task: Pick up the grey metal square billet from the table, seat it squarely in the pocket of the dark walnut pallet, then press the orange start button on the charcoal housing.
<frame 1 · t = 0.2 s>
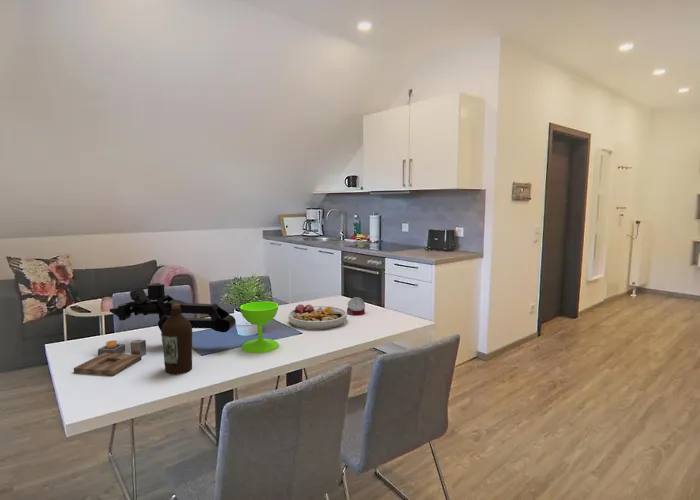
hand: (117, 307, 187), 16 cm above the table, tool horizontal, fingers open, 9 cm apart
start button: (111, 345, 176), point 4 cm above the table, slide at 0.0 cm
bowl: (317, 323, 222), on the table
wineglass: (260, 347, 186), on the table
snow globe: (355, 313, 239), on the table
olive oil: (178, 370, 160), on the table
metal billet: (138, 355, 175), on the table
button housing: (112, 353, 177), on the table
walnut pallet: (109, 366, 164), on the table
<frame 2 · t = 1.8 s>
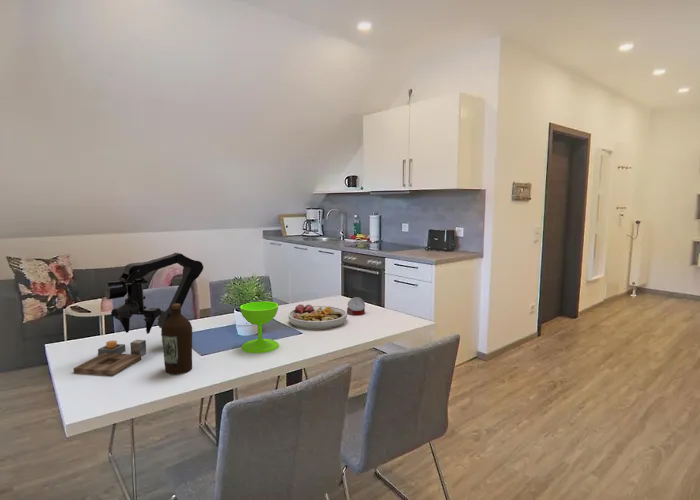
hand: (137, 333, 174), 9 cm above the table, tool pointing down, fingers open, 9 cm apart
nothing on the table moved.
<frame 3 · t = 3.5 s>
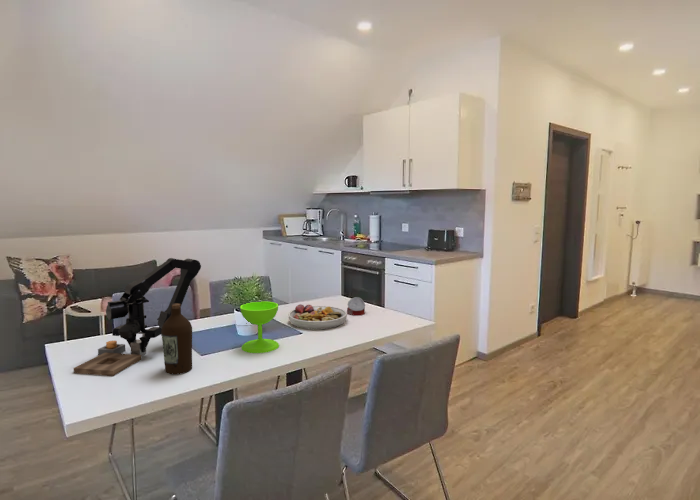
hand: (138, 351, 175), 2 cm above the table, tool pointing down, fingers closed on metal billet, 4 cm apart
metal billet: (138, 355, 175), on the table, touching gripper
everything else where it was.
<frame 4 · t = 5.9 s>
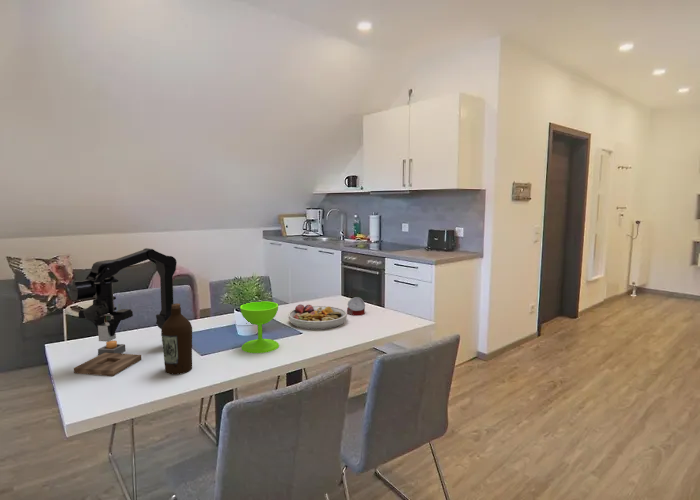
hand: (107, 335, 162), 12 cm above the table, tool pointing down, fingers closed on metal billet, 4 cm apart
metal billet: (107, 339, 163), point 10 cm above the table, touching gripper
everything else where it was.
when the fingers open (3 cm above the table, at t = 8.2 s): metal billet drops 1 cm, resting on walnut pallet.
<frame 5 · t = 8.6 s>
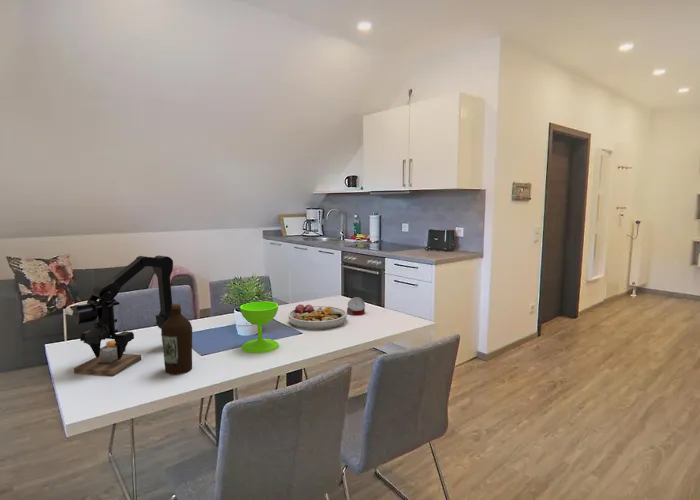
hand: (108, 358, 163), 3 cm above the table, tool pointing down, fingers open, 9 cm apart
metal billet: (109, 364, 164), point 1 cm above the table, touching walnut pallet
everything else where it was.
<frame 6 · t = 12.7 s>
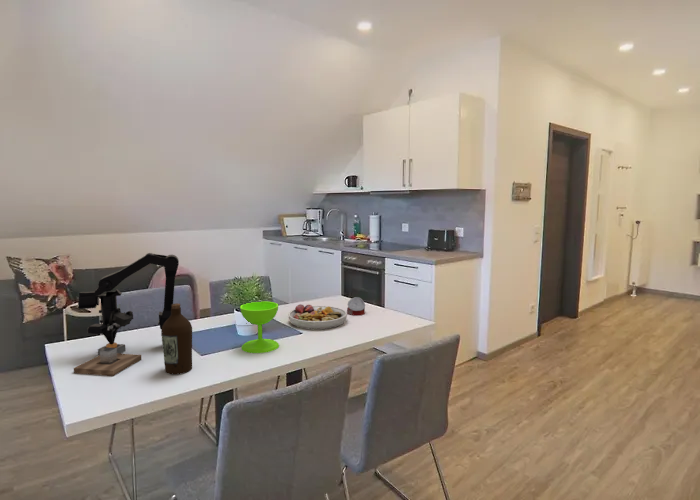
hand: (111, 344, 176), 4 cm above the table, tool pointing down, fingers closed, pressing on start button
start button: (111, 347, 176), point 3 cm above the table, slide at 0.8 cm, touching gripper
everything else where it was.
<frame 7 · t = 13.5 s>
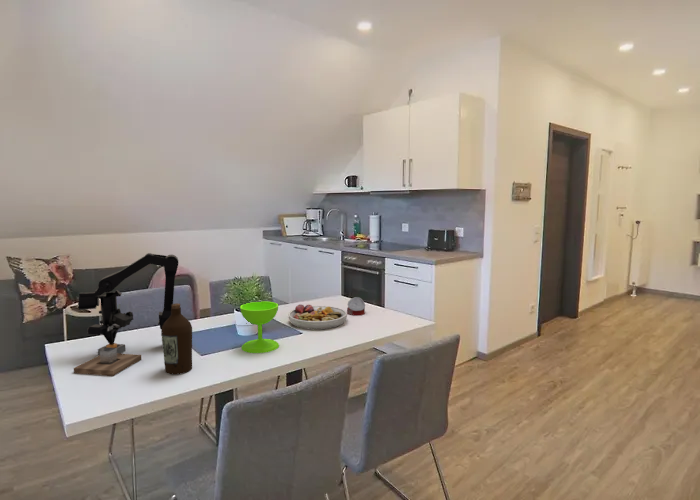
hand: (111, 344, 176), 4 cm above the table, tool pointing down, fingers closed
start button: (111, 347, 176), point 2 cm above the table, slide at 1.1 cm
everything else where it was.
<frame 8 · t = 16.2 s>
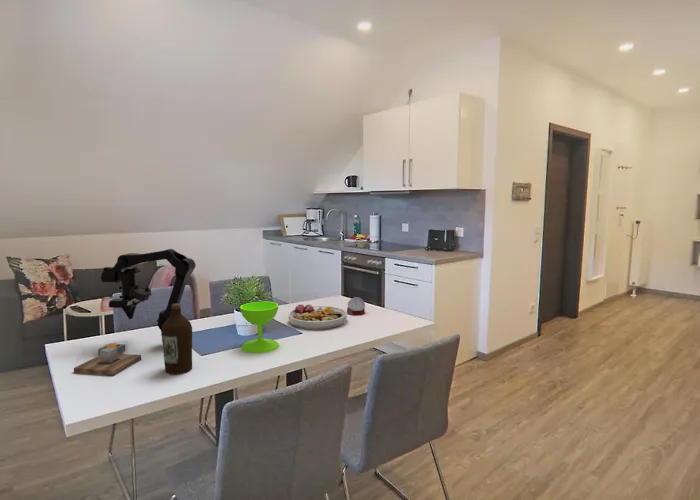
hand: (130, 318, 185), 12 cm above the table, tool pointing down, fingers closed
nothing on the table moved.
at the end: metal billet 0.1 cm off-centre on the walnut pallet, point 0.6 cm above the walnut pallet's base; metal billet tilted 0°; start button slide at 1.1 cm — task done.
